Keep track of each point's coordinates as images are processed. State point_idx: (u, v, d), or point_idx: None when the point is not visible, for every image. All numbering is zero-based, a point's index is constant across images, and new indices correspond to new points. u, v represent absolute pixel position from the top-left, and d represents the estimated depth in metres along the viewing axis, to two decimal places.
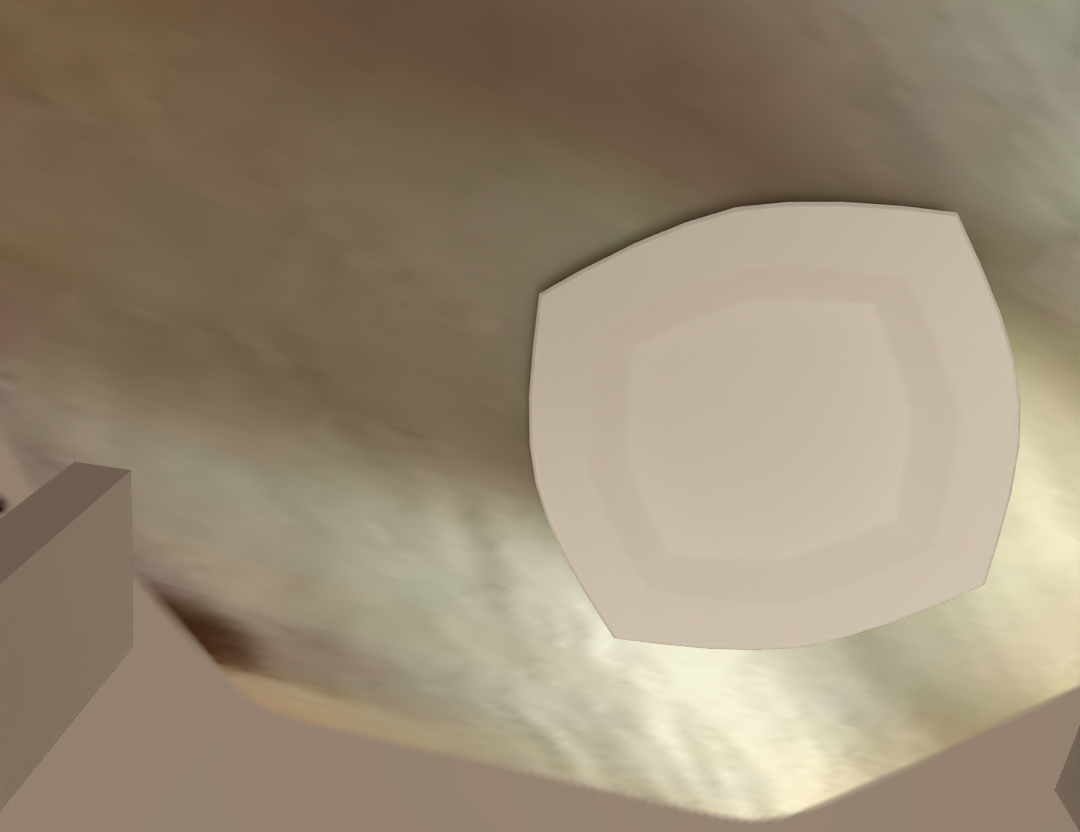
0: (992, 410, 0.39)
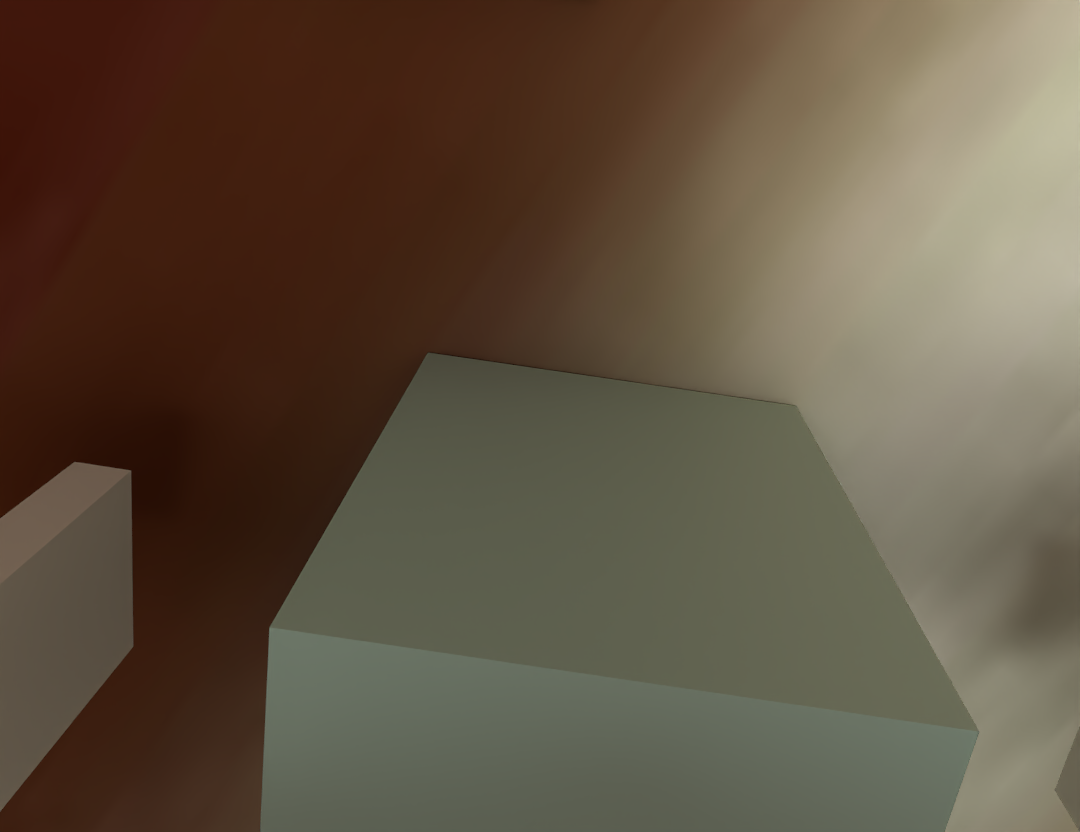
0: None
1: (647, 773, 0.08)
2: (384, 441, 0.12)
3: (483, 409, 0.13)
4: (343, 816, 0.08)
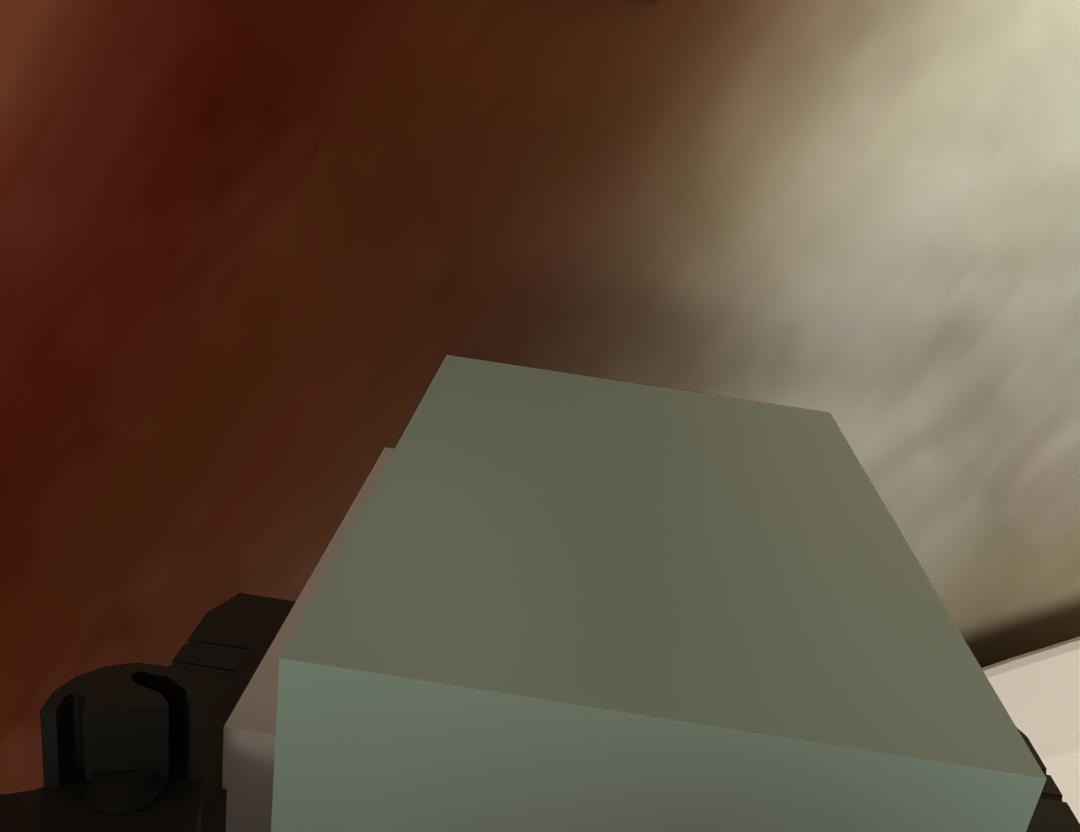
0: None
1: (684, 817, 0.07)
2: (401, 450, 0.11)
3: (505, 416, 0.12)
4: None
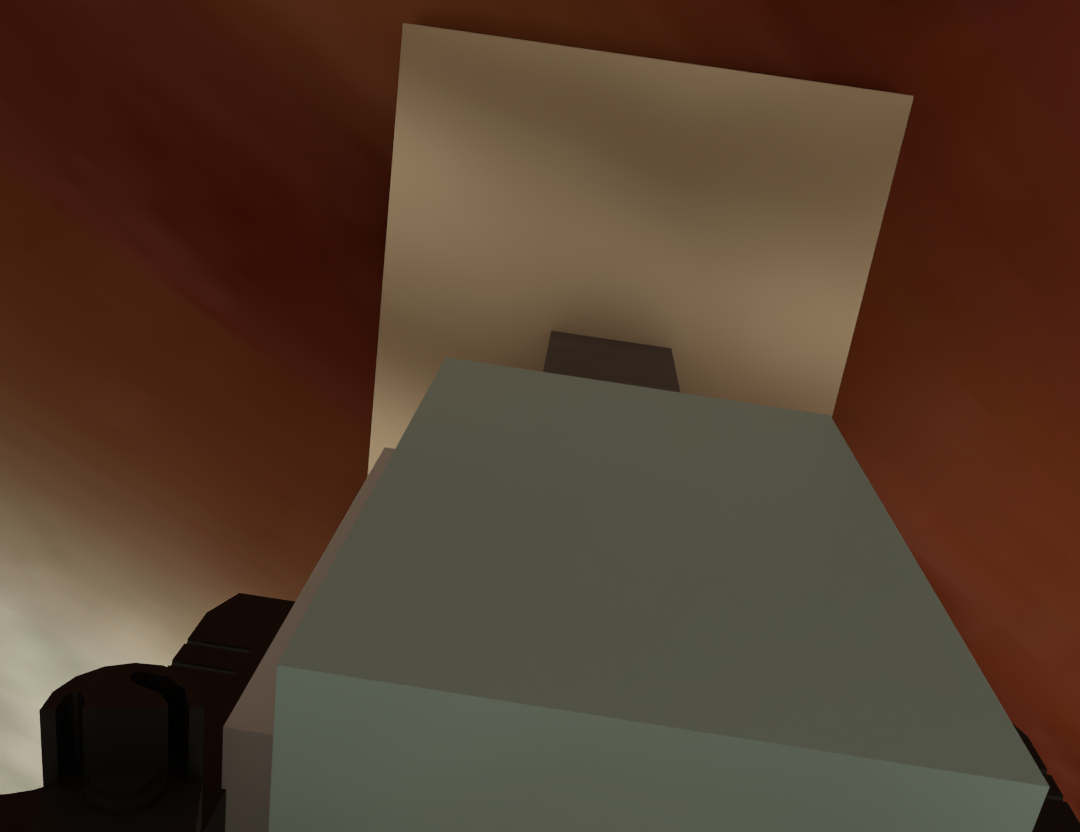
0: None
1: (684, 825, 0.07)
2: (400, 454, 0.11)
3: (504, 419, 0.12)
4: None
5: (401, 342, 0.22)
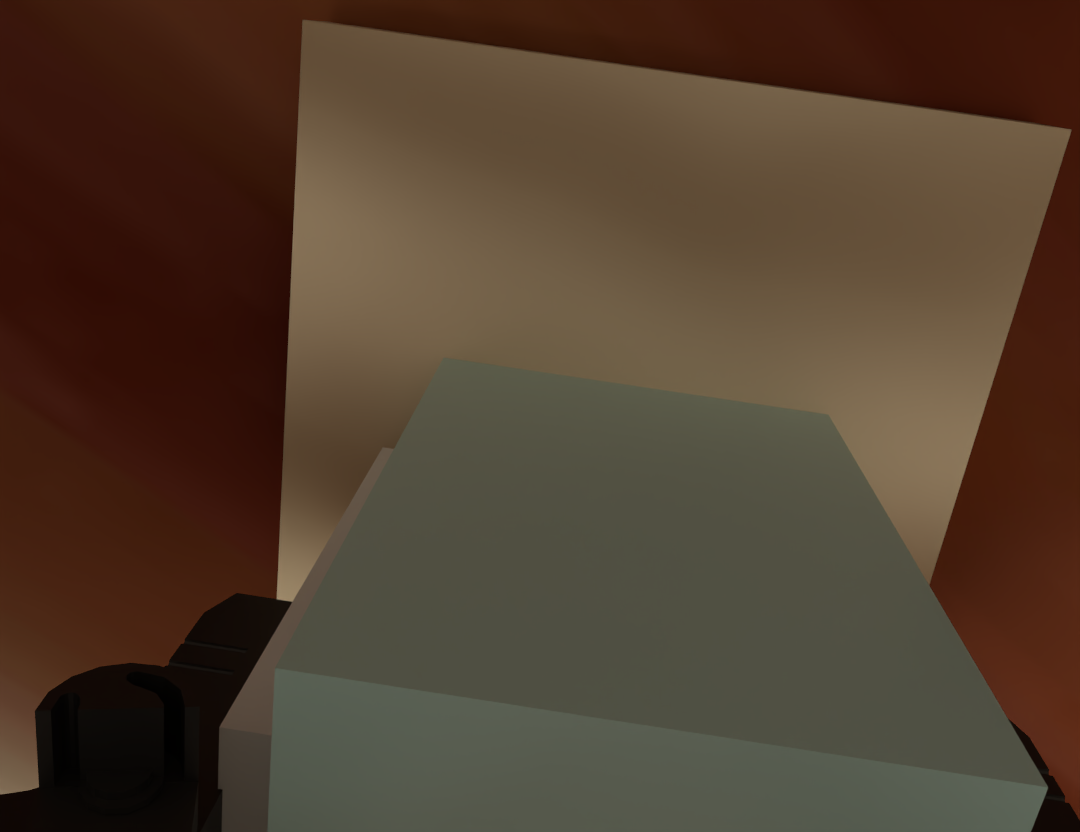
0: None
1: (683, 827, 0.07)
2: (398, 455, 0.11)
3: (502, 419, 0.12)
4: None
5: (315, 475, 0.15)
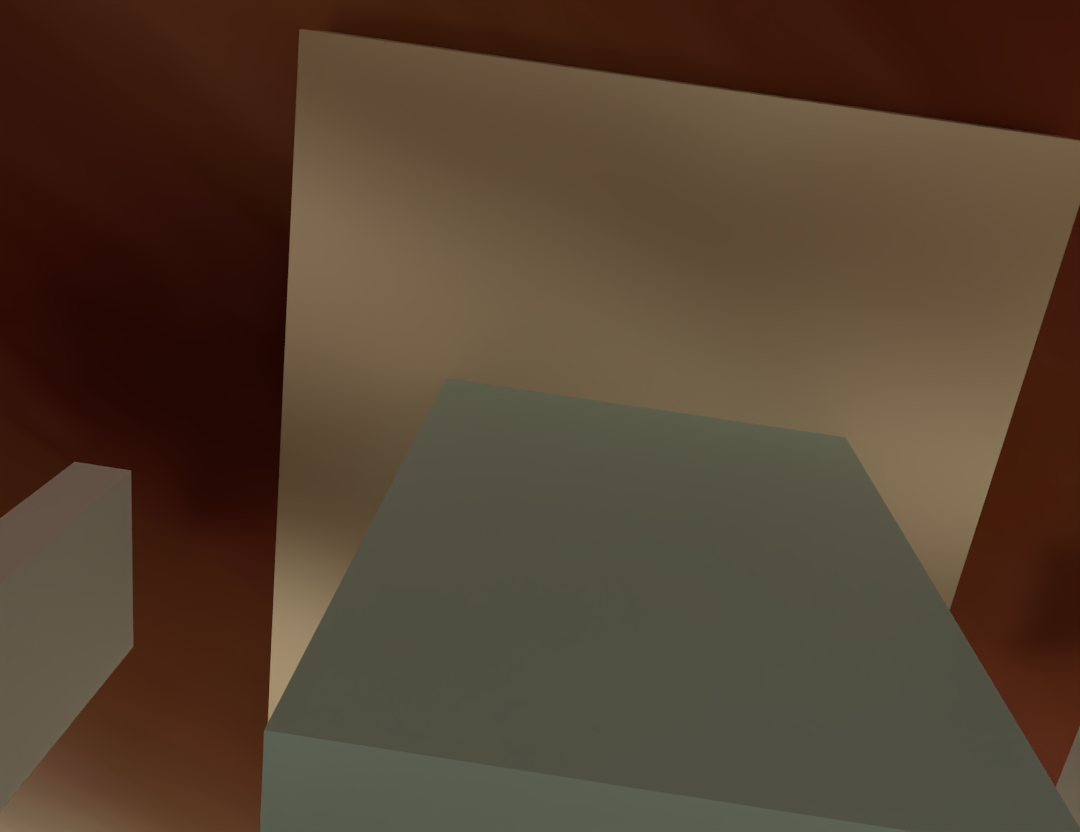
0: None
1: None
2: (398, 486, 0.10)
3: (507, 445, 0.12)
4: None
5: (312, 499, 0.15)
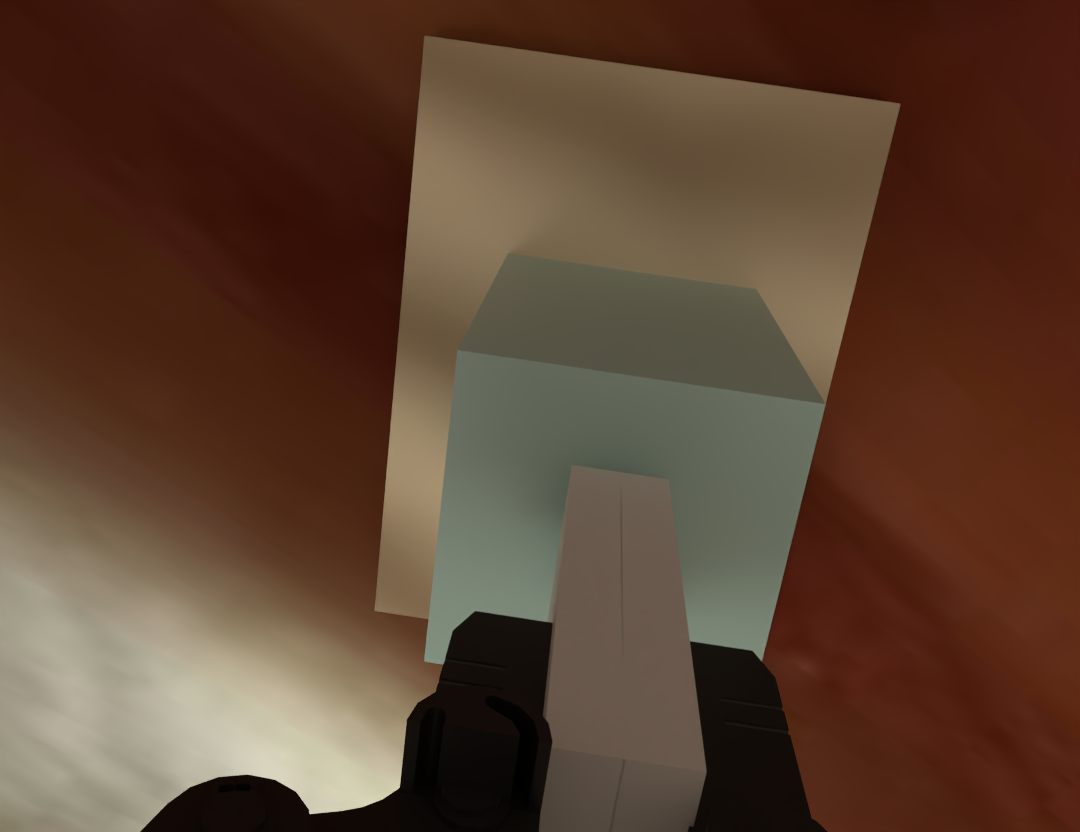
0: None
1: (653, 432, 0.15)
2: (493, 290, 0.19)
3: (550, 280, 0.20)
4: (490, 462, 0.16)
5: (420, 334, 0.23)
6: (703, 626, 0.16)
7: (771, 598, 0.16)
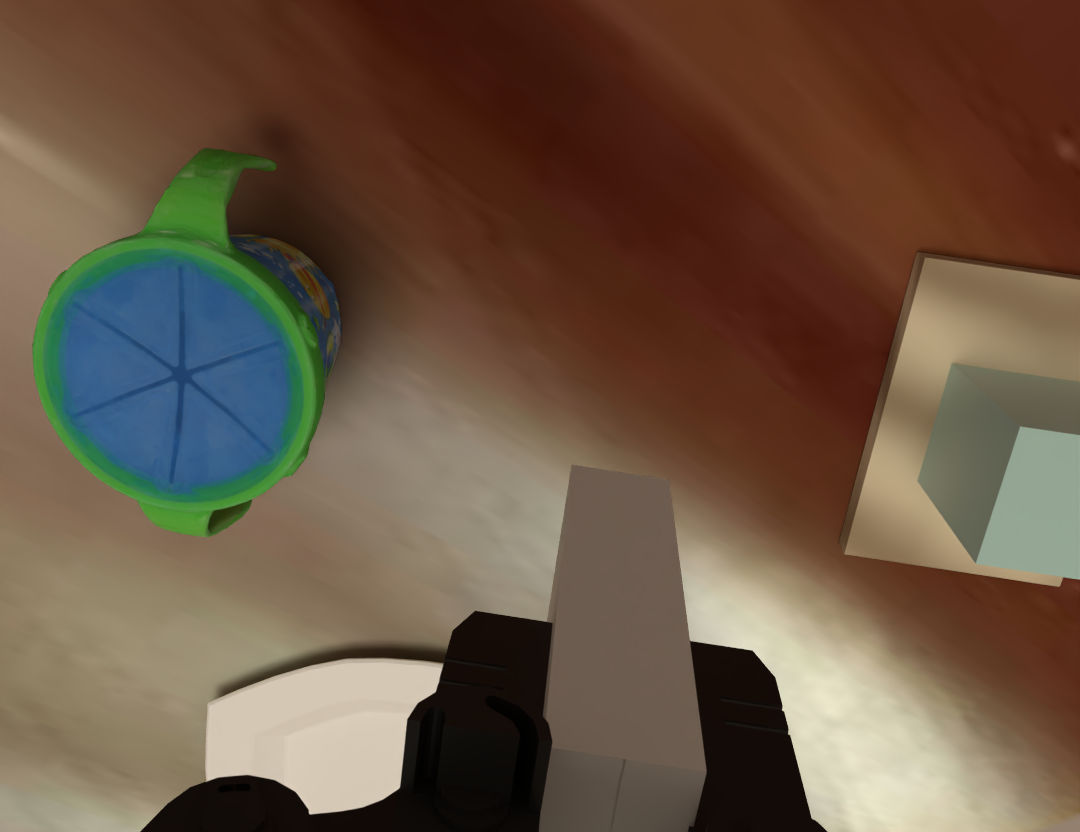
0: None
1: None
2: (983, 390, 0.39)
3: (994, 382, 0.41)
4: (1025, 473, 0.36)
5: (897, 404, 0.44)
6: None
7: None
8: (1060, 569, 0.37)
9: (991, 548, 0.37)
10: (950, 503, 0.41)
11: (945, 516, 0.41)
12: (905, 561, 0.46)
